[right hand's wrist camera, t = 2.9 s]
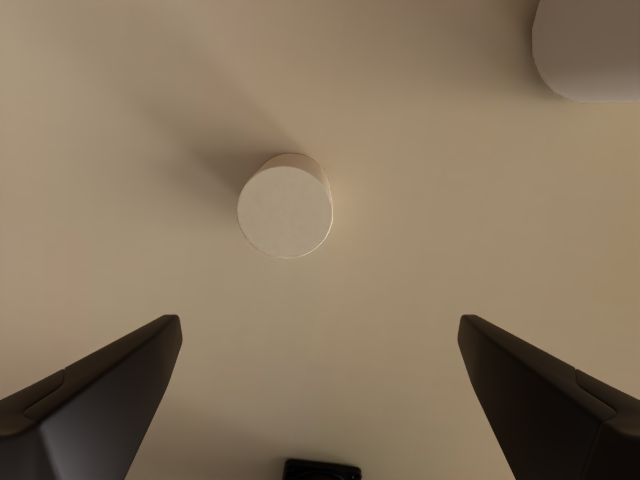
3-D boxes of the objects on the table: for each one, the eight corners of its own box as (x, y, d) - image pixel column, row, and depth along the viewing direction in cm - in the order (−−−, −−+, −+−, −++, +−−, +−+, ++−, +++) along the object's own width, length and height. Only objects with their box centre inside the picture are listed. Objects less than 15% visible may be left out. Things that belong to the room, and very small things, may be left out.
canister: (320, 236, 24) (320, 267, 19) (247, 219, 23) (229, 247, 19) (338, 164, 22) (344, 179, 17) (261, 144, 22) (245, 155, 17)
